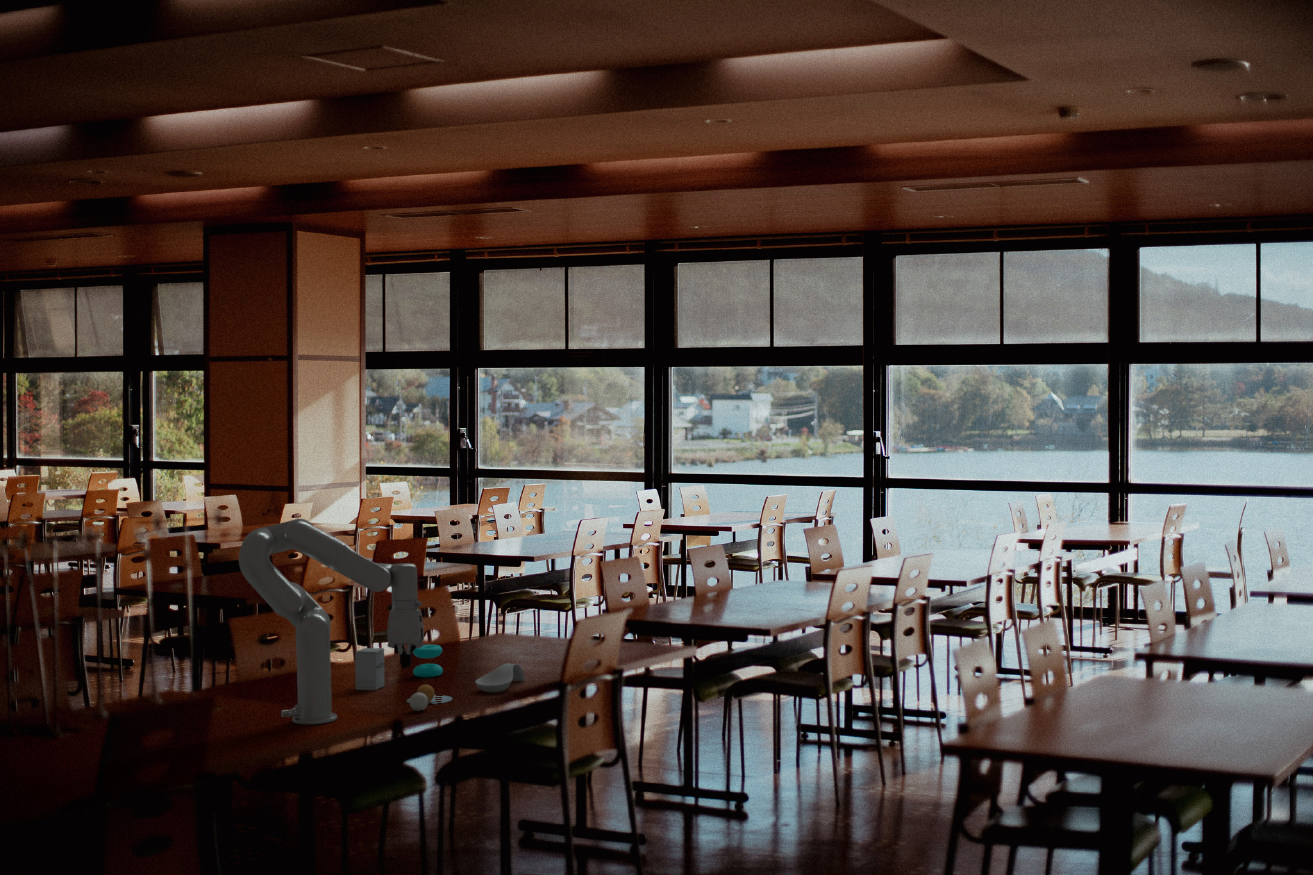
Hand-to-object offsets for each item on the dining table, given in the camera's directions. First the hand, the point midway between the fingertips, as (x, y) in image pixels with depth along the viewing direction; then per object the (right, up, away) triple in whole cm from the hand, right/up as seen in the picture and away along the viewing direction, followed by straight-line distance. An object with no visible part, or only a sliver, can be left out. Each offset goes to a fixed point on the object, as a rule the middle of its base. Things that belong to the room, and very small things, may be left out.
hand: (406, 667), depth 396 cm
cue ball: (+3, -11, +5) cm, 13 cm away
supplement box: (-20, -14, +43) cm, 49 cm away
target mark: (+3, -14, +21) cm, 25 cm away
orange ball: (+3, -11, +18) cm, 21 cm away
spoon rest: (+24, -14, +40) cm, 48 cm away
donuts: (-4, -14, +64) cm, 65 cm away
